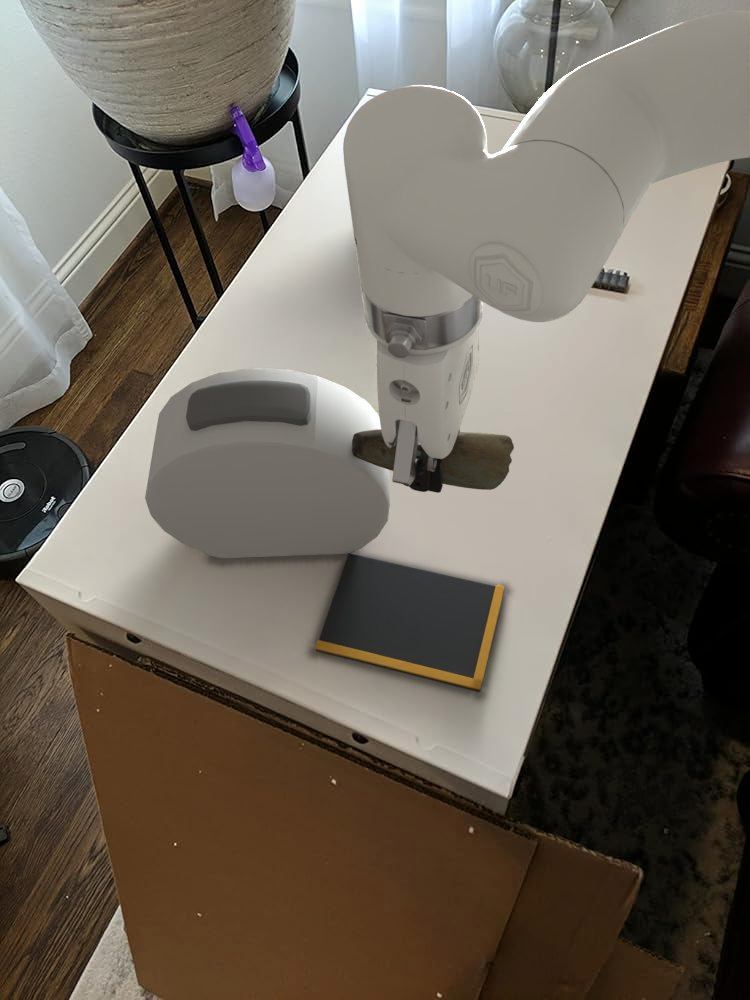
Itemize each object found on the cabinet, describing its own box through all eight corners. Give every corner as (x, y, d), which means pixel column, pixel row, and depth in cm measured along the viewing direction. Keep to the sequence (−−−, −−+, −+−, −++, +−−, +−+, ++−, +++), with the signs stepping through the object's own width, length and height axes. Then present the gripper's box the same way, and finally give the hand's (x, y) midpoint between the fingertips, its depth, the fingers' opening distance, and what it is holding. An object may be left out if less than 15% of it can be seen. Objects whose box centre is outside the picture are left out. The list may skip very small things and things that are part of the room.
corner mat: (504, 590, 79) (504, 586, 78) (480, 692, 74) (480, 689, 73) (348, 555, 82) (348, 551, 81) (316, 651, 77) (314, 647, 76)
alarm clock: (394, 485, 85) (379, 352, 69) (395, 551, 81) (380, 428, 65) (184, 494, 87) (120, 366, 70) (175, 560, 83) (105, 441, 66)
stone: (514, 448, 69) (516, 431, 67) (507, 500, 67) (508, 484, 65) (357, 432, 72) (354, 415, 70) (345, 481, 69) (341, 466, 67)
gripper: (445, 410, 49) (449, 560, 64) (511, 212, 57) (501, 387, 72) (321, 386, 50) (354, 538, 66) (403, 197, 58) (415, 372, 74)
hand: (431, 458), depth 69 cm, fingers closed on stone, 4 cm apart
